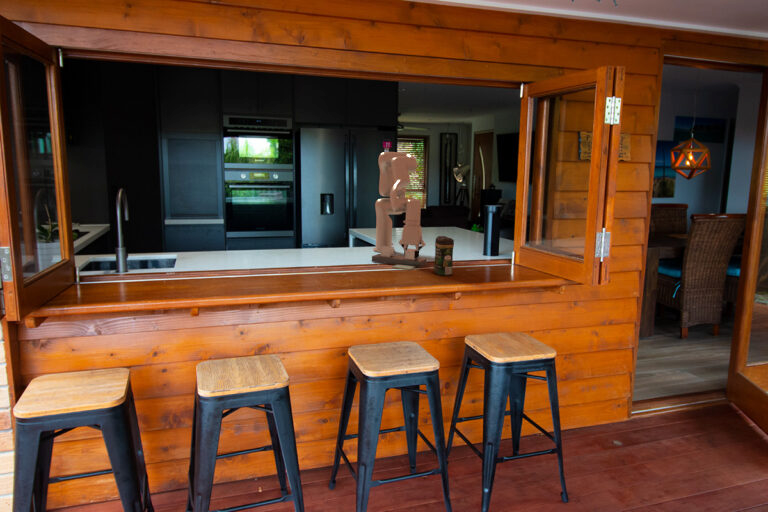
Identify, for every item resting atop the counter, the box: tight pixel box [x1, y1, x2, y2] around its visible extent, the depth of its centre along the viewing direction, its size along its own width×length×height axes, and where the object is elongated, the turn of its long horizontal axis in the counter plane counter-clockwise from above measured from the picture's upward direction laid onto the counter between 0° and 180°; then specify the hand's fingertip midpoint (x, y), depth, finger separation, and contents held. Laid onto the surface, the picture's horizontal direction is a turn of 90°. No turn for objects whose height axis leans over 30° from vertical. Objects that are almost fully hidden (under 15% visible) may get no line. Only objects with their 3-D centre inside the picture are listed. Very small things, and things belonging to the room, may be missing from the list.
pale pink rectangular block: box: [404, 248, 419, 261], centre depth 276 cm, size 5×5×8 cm
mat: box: [391, 264, 416, 271], centre depth 267 cm, size 7×10×1 cm
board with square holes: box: [371, 253, 428, 268], centre depth 279 cm, size 9×28×3 cm, turn 66°
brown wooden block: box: [380, 246, 395, 258], centre depth 282 cm, size 5×5×8 cm
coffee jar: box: [433, 235, 455, 277], centre depth 254 cm, size 10×8×19 cm
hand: (411, 257), depth 276 cm, fingers closed on pale pink rectangular block, 5 cm apart
